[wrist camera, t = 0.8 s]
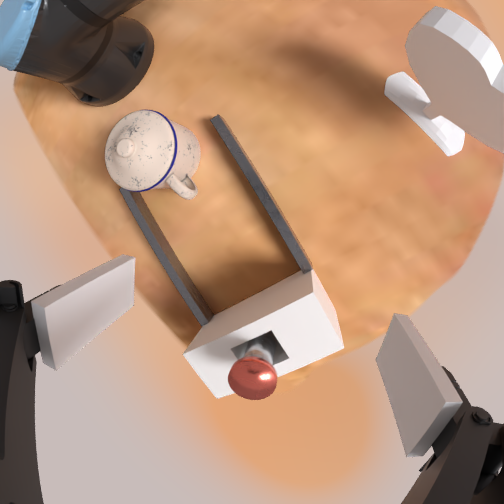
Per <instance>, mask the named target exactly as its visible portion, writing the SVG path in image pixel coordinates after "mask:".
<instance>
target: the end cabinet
mask: <svg viewBox="0 0 504 504" xmlns="http://www.w3.org/2000/svg"><path fill="white" fill-rule="evenodd" d="M264 333H266V334H269V335H270V336H272V337H273V338H274V340H275V342H276V348H275V353H274V358H273V364H272V365H273V367H274V368H275V370H276V372H277V377H279V376H282V375H284V374H287V373H289V372H291V371H294V370H296V369H299V368H301V367H303V366H306V365H308V364H310V363H312V362H315V361H317V360H319V359H321V358H324V357H326V356H328V355H330V354H332V353H334V352H337V351H339V350H341V349H343V348H344V345H343V340H342V336H341V331H340V327H339V323H338V319H337V314H336V310H335V308H334V306H333V304H332V302H331V301H330V299H329V297H328V295H327V293H326V291H325V290H324V288H323V286H322V284H321V282H320V281H319V279H318V277H317V275H316V273H315V272H314V270H311V271H309V272H307V273H305V274H303V272H302V270H300V271H298V272H297V273H295V274H293V275H291V276H289V277H287V278H285V279H284V280H282V281H280V282H278V283H276V284H274V285H272V286H270V287H268V288H266V289H265V290H263V291H261V292H259V293H257V294H255V295H253V296H251V297H249V298H247V299H245V300H243V301H241V302H239V303H238V304H236V305H234V306H232V307H230V308H228V309H226V310H224V311H222V312H220V313H218V314H216V315H214V316H213V318H212V319H211V321H210V322H209V323H208V324H206V325H204V326H203V327H202V328H201V329H200V331H199V332H198V334H197V335H196V336H195V338H194V339H193V341H192V342H191V343H190V345H189V346H188V348H187V349H186V350H185V352H184V353H183V355H184V357H185V358H186V359H187V360H188V362H189V363H190V365H191V366H192V367H193V369H194V370H195V371H196V373H197V374H198V375H199V377H200V378H201V379H202V380H203V382H204V383H205V384H206V385H207V387H208V388H209V389H210V391H211V392H212V393H213V394H214V396H215V397H216V398H221V397H224V396H227V395H230V394H233V393H235V392H234V391H233V390H232V389H231V388H230V386H229V383H228V374H229V372H230V369H231V367H232V365H233V364H234V363H235V362H236V361H237V360H239V359H241V358H243V356H244V353H245V351H246V348H247V345H248V342H249V340H251V339H253V338H256V337H258V336H260V335H262V334H264Z"/></svg>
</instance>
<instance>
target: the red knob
mask: <svg viewBox="0 0 504 504" xmlns="http://www.w3.org/2000/svg"><path fill="white" fill-rule="evenodd" d="M275 348H276V342H275V340H274V338H273V337H272V336H270V335H269V334H266V333H264V334H262V335H260V336H258V337H256V338H253V339H251V340H249V342H248V345H247V348H246V351H245V353H244V356H243V358H241V359H239V360H237V361H236V362H235V363H234V364H233V365H232V367H231V369H230V372H229V374H228V383H229V386H230V388H231V389H232V390H233V391H234V392H235V393H236V394H238V395H239V396H241V397H243V398H246V399H250V400H260V399H264V398H266V397H268V396H270V395H271V394H272V393H273V392H274V390H275V388H276V383H277V372H276V370H275V368H274V367H273V365H272V364H273V358H274V353H275Z"/></svg>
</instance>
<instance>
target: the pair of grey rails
mask: <svg viewBox="0 0 504 504" xmlns="http://www.w3.org/2000/svg"><path fill="white" fill-rule="evenodd" d="M210 121H211V122H212V124H213V125H214V127H215V128H216V130H217V131H218V133H219V135H220V136H221V138H222V139H223V141H224V142H225V144H226V146H227V147H228V149H229V150H230V152H231V154H232V155H233V157H234V158H235V160H236V162H237V163H238V165H239V166H240V168H241V170H242V171H243V173H244V174H245V176H246V178H247V179H248V181H249V183H250V184H251V186H252V188H253V189H254V191H255V192H256V194H257V196H258V197H259V199H260V201H261V202H262V204H263V206H264V207H265V209H266V211H267V212H268V214H269V216H270V217H271V219H272V221H273V222H274V224H275V226H276V227H277V229H278V231H279V232H280V234H281V236H282V238H283V239H284V241H285V243H286V244H287V246H288V248H289V249H290V251H291V253H292V255H293V256H294V258H295V260H296V262H297V263H298V265H299V267H300V268H301V270H302V272H303V274H305V273H307V272H309V271H311V270H313V268H312V263H311V261H310V260H309V258H308V256H307V254H306V253H305V251H304V249H303V247H302V246H301V244H300V242H299V240H298V239H297V237H296V235H295V233H294V232H293V230H292V228H291V227H290V225H289V223H288V221H287V220H286V218H285V216H284V215H283V213H282V211H281V210H280V208H279V206H278V205H277V203H276V201H275V200H274V198H273V196H272V195H271V193H270V191H269V190H268V188H267V186H266V185H265V183H264V181H263V180H262V178H261V177H260V175H259V173H258V172H257V170H256V168H255V167H254V165H253V164H252V162H251V160H250V159H249V157H248V156H247V154H246V153H245V151H244V149H243V148H242V146H241V145H240V143H239V142H238V140H237V138H236V137H235V135H234V134H233V132H232V131H231V129H230V128H229V126H228V124H227V123H226V121H225V120H224V119H223V118H222V117H221V116H220V115H219V114H218V115H217V116H215V117H214V118H212V119H211V120H210ZM119 190H120V192H121V194H122V195H123V197H124V199H125V201H126V203H127V205H128V207H129V208H130V210H131V212H132V214H133V216H134V217H135V219H136V221H137V223H138V225H139V226H140V228H141V230H142V232H143V233H144V235H145V237H146V238H147V240H148V242H149V244H150V245H151V247H152V249H153V250H154V252H155V254H156V255H157V257H158V259H159V260H160V262H161V264H162V265H163V267H164V269H165V270H166V272H167V274H168V275H169V277H170V278H171V280H172V282H173V283H174V285H175V286H176V288H177V289H178V291H179V293H180V294H181V296H182V297H183V299H184V300H185V302H186V303H187V305H188V306H189V308H190V309H191V311H192V313H193V314H194V316H195V317H196V319H197V320H198V321H199V323H200V324H201V326H204V325H206V324H208V323H209V322H210V321H211V319H212V318H213V316H214V314H213V313H212V311H211V310H210V308H209V307H208V305H207V304H206V302H205V301H204V299H203V298H202V296H201V295H200V293H199V291H198V290H197V288H196V287H195V285H194V284H193V282H192V280H191V279H190V277H189V276H188V274H187V272H186V271H185V269H184V268H183V266H182V264H181V263H180V261H179V260H178V258H177V256H176V255H175V253H174V251H173V250H172V248H171V246H170V245H169V243H168V241H167V240H166V238H165V236H164V235H163V233H162V231H161V229H160V228H159V226H158V224H157V223H156V221H155V219H154V217H153V216H152V214H151V212H150V210H149V209H148V207H147V205H146V203H145V201H144V200H143V198H142V196H141V194H140V192H133V191H128V190H126V189H124V188H120V189H119Z"/></svg>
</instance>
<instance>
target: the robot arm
mask: <svg viewBox="0 0 504 504" xmlns="http://www.w3.org/2000/svg"><path fill="white" fill-rule="evenodd" d="M142 1H144V0H4V1H3V3H2V5H1V6H0V66H2V67H5V68H7V69H8V70H10V71H12V70H13V71H17V72H21V73H25V74H29V75H33V76H37V77H41V78H45V79H48V80H52V81H56V82H59V83H62V84H63V85H64V86H65V87H66V88H67V89H68V90H69V91H70V92H71V93H72V94H73V95H74V96H75V97H76V98H77V99H78V100H80V101H81V102H84V103H86V104H90V105H93V106H106V105H110V104H113V103H115V102H117V101H119V100H120V99H122V98H124V97H125V96H126V95H128V94H129V93H130V92H131V91H132V90H133V89H134V88H135V87H136V86H137V85H138V84H139V82H140V81H141V80H142V78H143V77H144V75H145V74H146V72H147V70H148V68H149V66H150V64H151V61H152V58H153V53H154V40H153V37H152V35H151V33H150V31H149V30H148V29H147V28H146V27H145V26H143V25H142V24H141V23H140V22H138V21H136V20H134V19H130V18H126V17H121V16H120V15H121V14H123V13H125V12H126V11H128V10H129V9H131V8H132V7H134V6H136V5H137V4H139V3H140V2H142ZM134 277H135V257H132V256H128V255H124V254H123V255H121V256H119V257H117V258H114V259H112V260H110V261H108V262H106V263H104V264H102V265H100V266H98V267H96V268H94V269H92V270H90V271H88V272H86V273H84V274H82V275H80V276H78V277H76V278H74V279H72V280H70V281H68V282H66V283H64V284H62V285H58V286H56V287H54V288H53V289H50V291H47V292H45V293H44V294H41V295H39V296H37V297H35V298H33V299H32V300H30V301H28V302H26V303H24V298H23V291H22V284H21V283H20V282H18V281H14V280H5V281H1V282H0V504H44V503H43V498H42V492H41V486H40V480H39V472H38V463H37V453H36V440H35V377H36V358H35V354H37V353H38V352H39V351H40V352H41V356H42V360H43V363H44V364H46V365H48V366H49V367H51V368H53V369H55V370H58V369H59V368H60V367H61V366H62V365H63V364H64V363H66V362H67V361H68V360H69V359H70V358H72V357H73V356H74V355H75V354H76V353H77V352H79V351H80V350H81V349H82V348H83V347H84V346H86V345H87V344H88V343H89V342H90V341H92V340H93V339H94V338H95V337H96V336H97V335H99V334H100V333H101V332H102V331H103V330H105V329H106V328H107V327H108V326H110V325H111V324H112V323H113V322H114V321H115V320H117V319H118V318H119V317H120V316H122V315H123V314H124V313H125V312H127V311H128V310H129V309H130V308H131V307H133V306H134ZM376 362H377V365H378V368H379V371H380V373H381V376H382V379H383V382H384V385H385V388H386V391H387V394H388V397H389V400H390V404H391V407H392V409H393V413H394V416H395V419H396V422H397V426H398V429H399V432H400V436H401V440H402V443H403V447H404V450H405V454H406V457H416V456H423V455H424V454H425V453H426V452H427V451H428V449H429V448H430V447H431V446H432V447H433V450H434V454H433V455H432V456H431V457H430V459H429V460H428V461H427V462H426V463H425V464H424V465H423V467H422V468H421V469H420V470H419V471H420V472H421V471H422V470H423V471H422V472H421V474H420V476H419V478H418V479H417V480H416V482H415V484H414V485H413V487H412V488H411V490H410V491H409V493H408V494H407V496H406V497H405V499H404V500H403V502H402V503H401V504H504V424H499V423H493V419H492V417H491V415H490V414H489V413H488V412H487V411H485V410H484V409H482V408H479V407H473V406H471V405H470V403H469V401H468V399H467V398H466V396H465V394H464V393H463V391H462V390H461V389H460V387H459V385H458V383H456V380H455V379H454V377H453V375H452V374H451V373H450V372H449V371H448V370H447V369H446V368H444V367H443V366H441V365H440V363H439V362H438V360H437V359H436V357H435V356H434V354H433V352H432V351H431V349H430V348H429V346H428V345H427V343H426V342H425V340H424V339H423V337H422V336H421V334H420V333H419V332H418V330H417V329H416V327H415V326H414V324H413V323H412V321H411V320H410V319H409V317H408V316H407V315H402V314H396V313H394V315H393V318H392V320H391V323H390V326H389V328H388V331H387V333H386V336H385V339H384V341H383V343H382V346H381V348H380V350H379V353H378V356H377V357H376ZM500 467H502V468H501V471H500V473H499V474H498V470H499V469H500Z"/></svg>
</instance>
